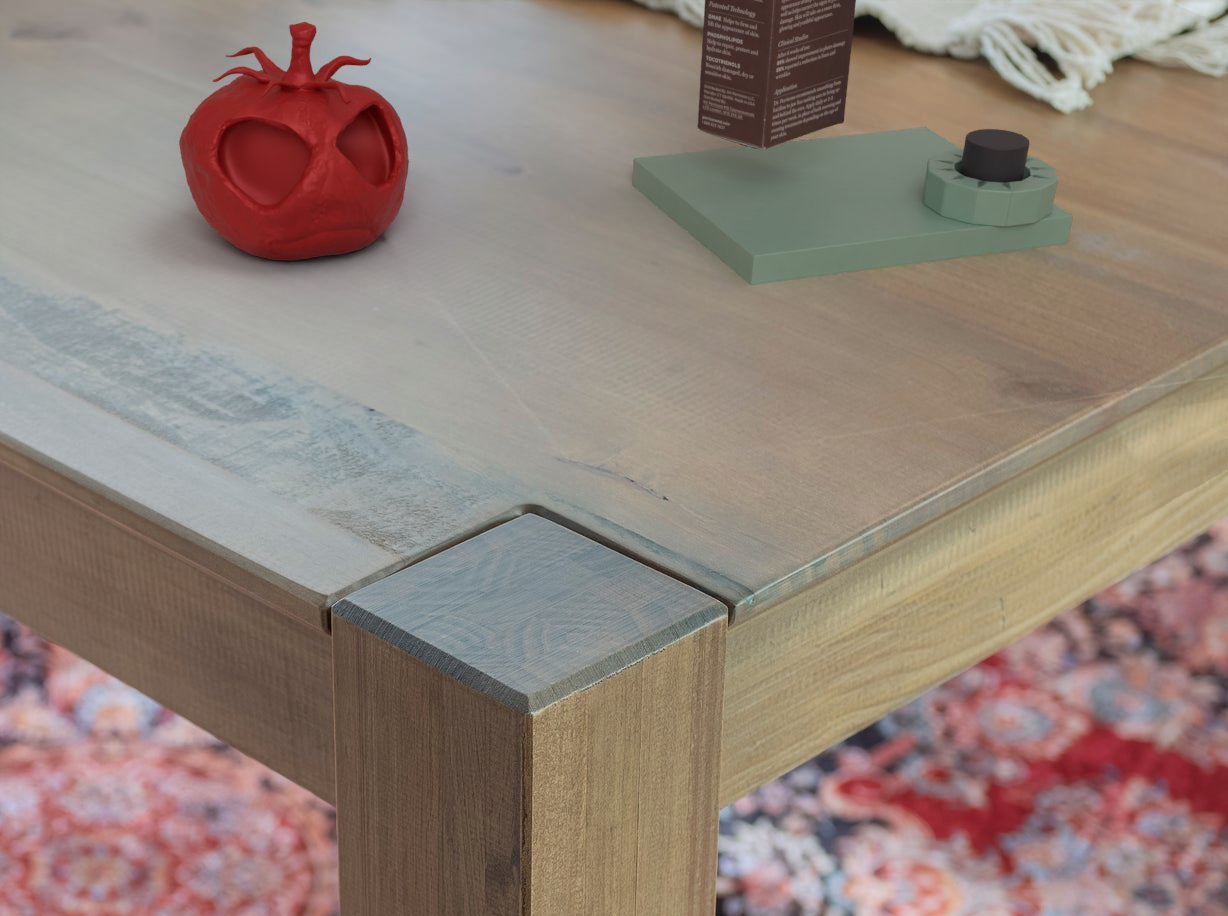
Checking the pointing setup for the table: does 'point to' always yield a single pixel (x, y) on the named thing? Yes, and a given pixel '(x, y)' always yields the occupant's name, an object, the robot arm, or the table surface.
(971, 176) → the button
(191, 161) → the tomato with eye holes
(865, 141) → the scale
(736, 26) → the box
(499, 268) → the table surface
